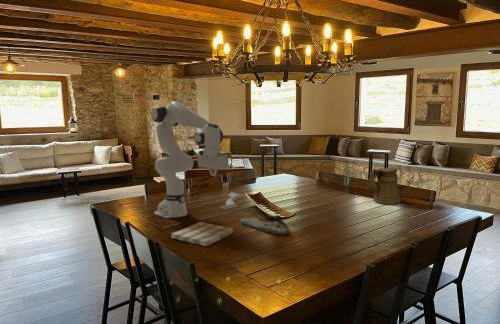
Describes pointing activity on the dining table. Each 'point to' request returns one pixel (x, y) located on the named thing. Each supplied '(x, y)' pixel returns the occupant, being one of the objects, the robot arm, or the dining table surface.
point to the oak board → (212, 229)
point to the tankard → (385, 186)
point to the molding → (231, 201)
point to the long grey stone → (265, 226)
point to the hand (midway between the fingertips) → (213, 175)
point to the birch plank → (195, 236)
